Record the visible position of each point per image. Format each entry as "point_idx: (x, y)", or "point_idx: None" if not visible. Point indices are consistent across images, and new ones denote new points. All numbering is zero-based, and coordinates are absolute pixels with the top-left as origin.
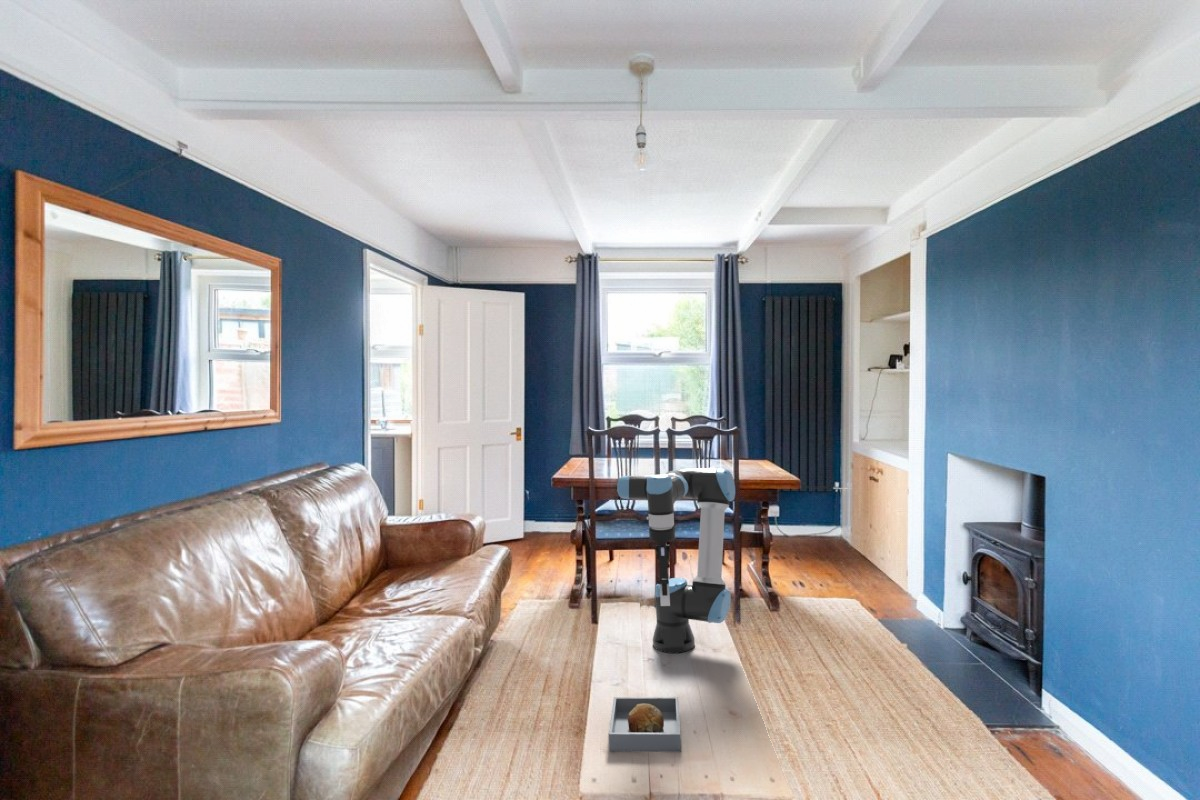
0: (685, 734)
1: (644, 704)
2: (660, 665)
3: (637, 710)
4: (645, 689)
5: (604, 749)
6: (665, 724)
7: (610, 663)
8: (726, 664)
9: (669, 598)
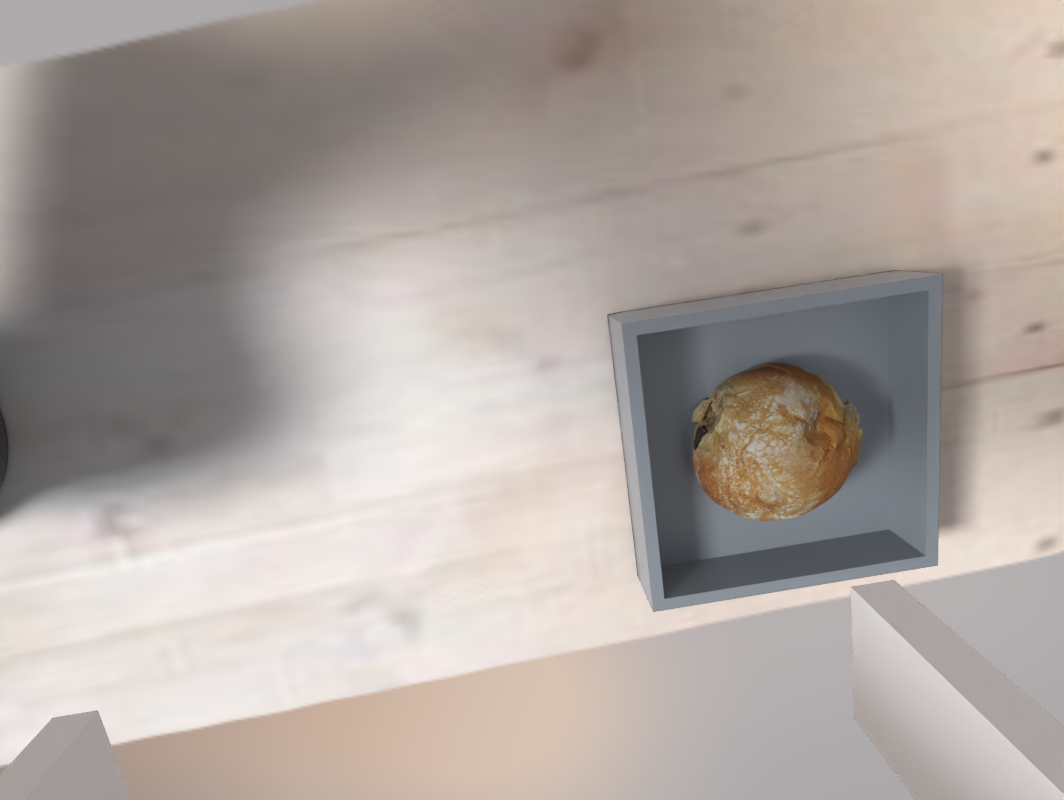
0: (774, 266)
1: (789, 469)
2: (169, 463)
3: (821, 490)
4: (429, 491)
5: None
6: (728, 358)
7: (213, 691)
8: (50, 95)
9: (990, 664)
